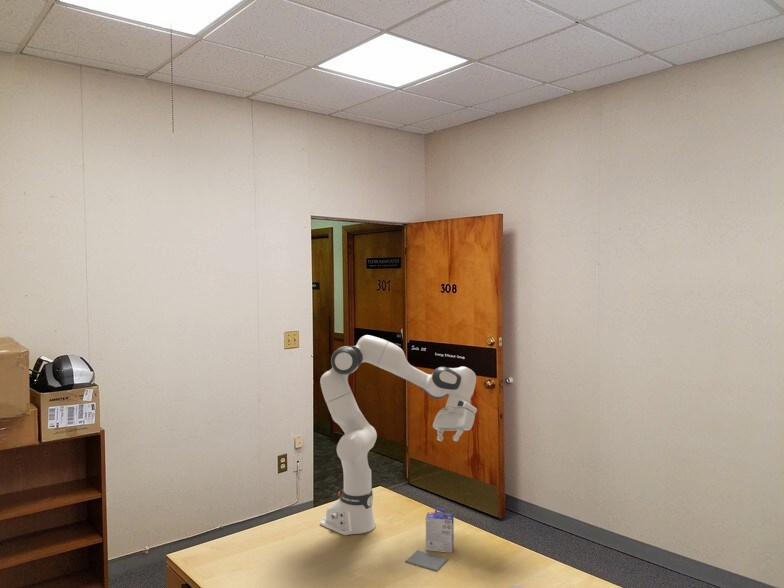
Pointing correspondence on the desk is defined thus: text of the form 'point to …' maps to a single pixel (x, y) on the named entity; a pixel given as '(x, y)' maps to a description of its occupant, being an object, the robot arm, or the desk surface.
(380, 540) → the desk surface
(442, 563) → the mat
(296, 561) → the desk surface
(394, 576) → the desk surface
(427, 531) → the ink cartridge box
